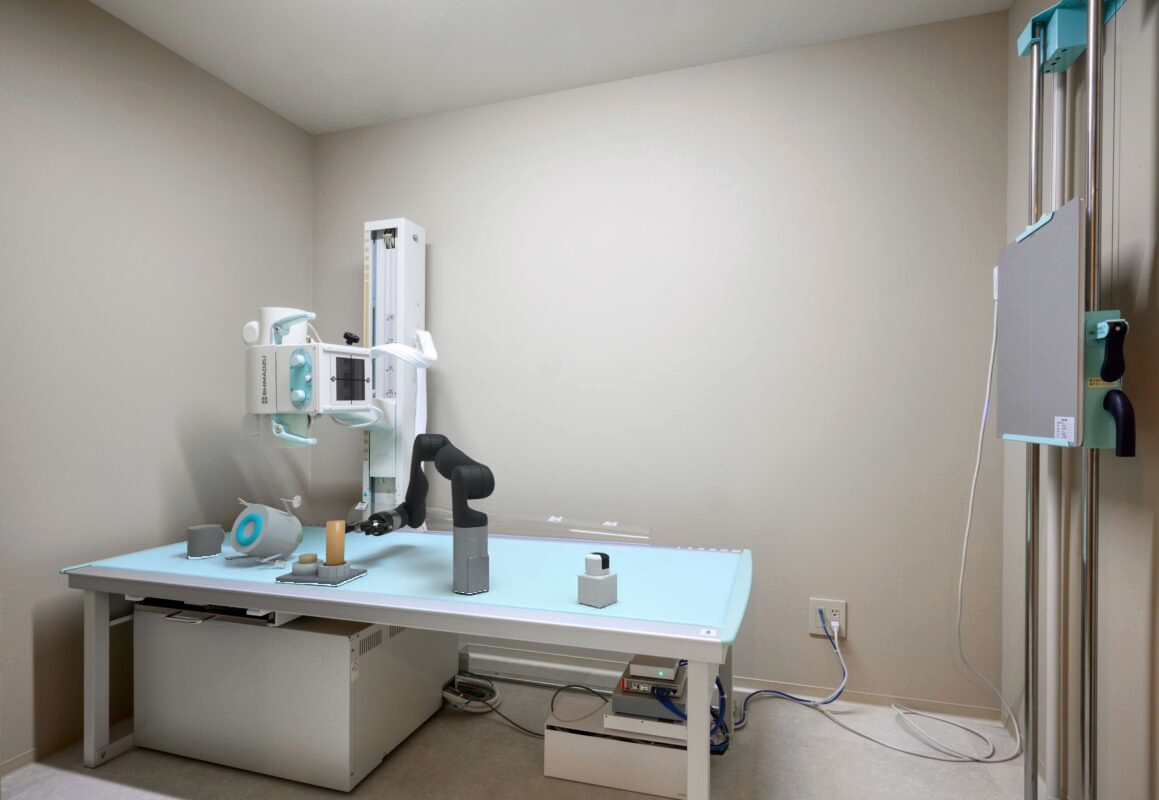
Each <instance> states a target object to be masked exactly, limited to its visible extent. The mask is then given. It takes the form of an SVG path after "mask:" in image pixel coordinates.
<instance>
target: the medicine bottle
mask: <svg viewBox="0 0 1159 800" xmlns="http://www.w3.org/2000/svg"><path fill="white" fill-rule="evenodd" d="M584 558H585V559H584V562H585V563H584V564H585V565H584V566H585V567H584V571H585V572H582V573H581V572H580V573H578V574H577V603H578V602H580V603H584V604H587V605H586V606H588V605H591V606H590V607H593V606H595V607H594V608H597V607H599V608H598V609H602V608H605V607H607V606H609V604H610V605H612V604H614V602H615V603H616V602H618V573H617V572H613V571H610V556H609V554H607V553H606V552H602V551H601V552H599V551H598V552H597V551H595V552H594V551H593V552H590V553H587V554H586V555H585V557H584ZM580 603H579V604H580ZM584 604H583V605H584ZM604 606H605V607H604ZM601 607H602V608H601Z"/></svg>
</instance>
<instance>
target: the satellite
mask: <svg viewBox="0 0 1159 800" xmlns="http://www.w3.org/2000/svg"><path fill="white" fill-rule="evenodd" d="M237 499H238V500H239V501H240V504H242V505H244V506H245V508H244V510H242V511H241V512H240V514H239V515H238V516H237V517H236V519H235V521H234V523H233V526H232V528H231V531H230V532H231V533H230V545H231V547H232V549H233V550H234V552H235V553H239V554H243V555H234V556H226V557H223V559H225V561H233V562H234V560H242V559H243V560H245V559H255V558H260V559H261V560H259V559H256V560H255V562H260V563H262V564H263V563H269V564H270V563H271V564H274V565H273V567H274V568H279V567H281V565H283V566H285V567H286V565H287V563H288V561H287V560H284V558H285V559H287V558H288V557H289V556H291V555H292V554H293V553H295V552H296V550H297V549H298V547H299V546H300V544H302V542H303V539H304V533H303V527H302V524H301V522H300V520H299V519H298V518H297V516H295V515H293V513H292V511H291V509H290V507H289V505H288V502H292V506H293V508H296V509H297V508H299V507H300V505H301V504H302V497H301V496H300V495H297V494H296V495H295V496H294V498H293V499H286V498H285V497H283V498H279V500H280V501H282V503H283V505H284V507H285V509H286V511H283V510H280V509H277V508H273V507H271V506H268V505H265V504H261V503H249V502H247V501H245V500H243V499H242V498H240V497H238V498H237ZM279 559H282V560H279ZM271 560H276V561H271Z"/></svg>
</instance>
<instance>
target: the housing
mask: <svg viewBox="0 0 1159 800" xmlns="http://www.w3.org/2000/svg"><path fill="white" fill-rule="evenodd" d="M291 564H292V565H291V572H288V573H285V574H283V575H279V576H276V577H275V582H276V581H280V582H294V583H318V584H331V585H337V584H340V583H342V582H344V581H347V580H349V579H352V578H354V577H356V576H359V575H361V574H364V573H366V572H367V573H368V569H362V568H351V561H349V560H345V559H344V565H339V566H326V561H324V559H321V558H318V554H317V553H303V554H299V555H298V560H296V561H293V562H292V563H291Z"/></svg>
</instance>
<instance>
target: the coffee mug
mask: <svg viewBox="0 0 1159 800" xmlns="http://www.w3.org/2000/svg"><path fill="white" fill-rule="evenodd" d="M222 527H223V526H222V524H214V523H213V524H201V525H200V524H199V525H195V526H189V527H188V528H187V536H186V537H187V541H186V542H187V543H186V544H187V545H186V546H187V547H186V550H187V551H186V553H187V554H186V557H187V556H190V557H202V556H211V555H216V554H219V553H221V554H222V544H224V542H225V540H226V532H225V530H224V529H223V528H222Z"/></svg>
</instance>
